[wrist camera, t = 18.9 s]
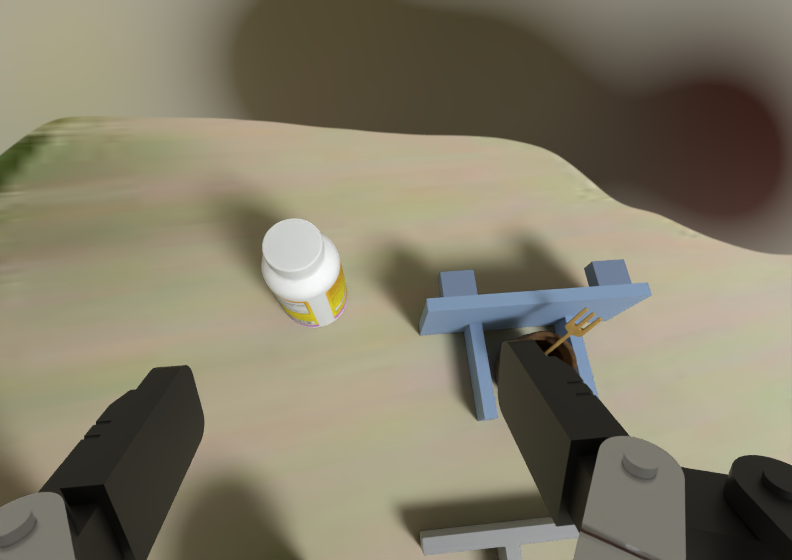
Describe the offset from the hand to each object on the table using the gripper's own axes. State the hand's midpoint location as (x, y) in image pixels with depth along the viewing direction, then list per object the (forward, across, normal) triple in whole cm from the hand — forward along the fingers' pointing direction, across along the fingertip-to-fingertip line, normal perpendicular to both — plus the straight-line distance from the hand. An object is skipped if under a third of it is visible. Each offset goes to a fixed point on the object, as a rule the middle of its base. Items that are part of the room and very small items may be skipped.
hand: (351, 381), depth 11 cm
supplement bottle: (+31, +5, +12) cm, 34 cm away
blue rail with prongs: (+26, -16, +17) cm, 35 cm away
